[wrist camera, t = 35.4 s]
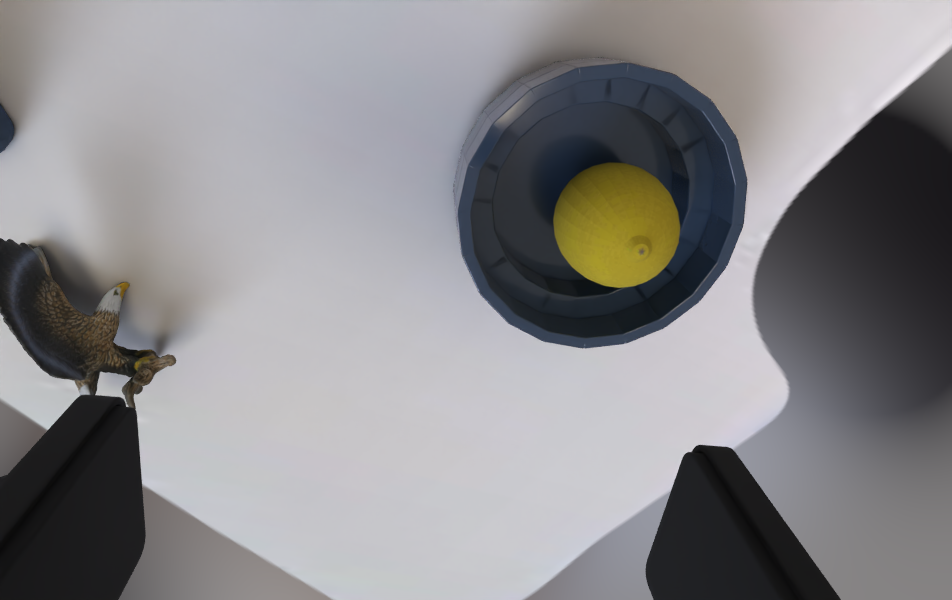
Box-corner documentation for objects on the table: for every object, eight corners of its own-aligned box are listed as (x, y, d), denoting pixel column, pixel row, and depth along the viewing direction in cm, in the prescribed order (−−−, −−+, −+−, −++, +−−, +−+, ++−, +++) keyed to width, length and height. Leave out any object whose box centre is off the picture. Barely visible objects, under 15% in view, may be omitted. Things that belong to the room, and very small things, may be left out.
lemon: (629, 258, 35) (684, 320, 27) (531, 244, 34) (560, 305, 26) (657, 157, 32) (725, 196, 25) (553, 140, 32) (592, 175, 24)
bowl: (431, 282, 35) (432, 323, 30) (486, 28, 30) (498, 29, 25) (652, 322, 37) (686, 366, 32) (738, 92, 32) (793, 103, 27)
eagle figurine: (213, 296, 33) (31, 195, 29) (147, 420, 29) (-76, 325, 25) (163, 336, 38) (2, 256, 34) (101, 447, 34) (-91, 372, 30)
